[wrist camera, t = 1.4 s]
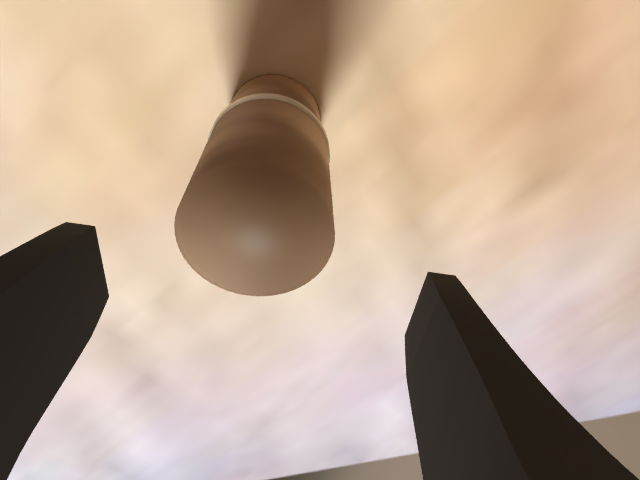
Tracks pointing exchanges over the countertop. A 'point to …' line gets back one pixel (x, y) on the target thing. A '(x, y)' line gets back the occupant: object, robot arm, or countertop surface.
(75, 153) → the countertop surface
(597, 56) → the countertop surface
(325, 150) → the walnut peg
